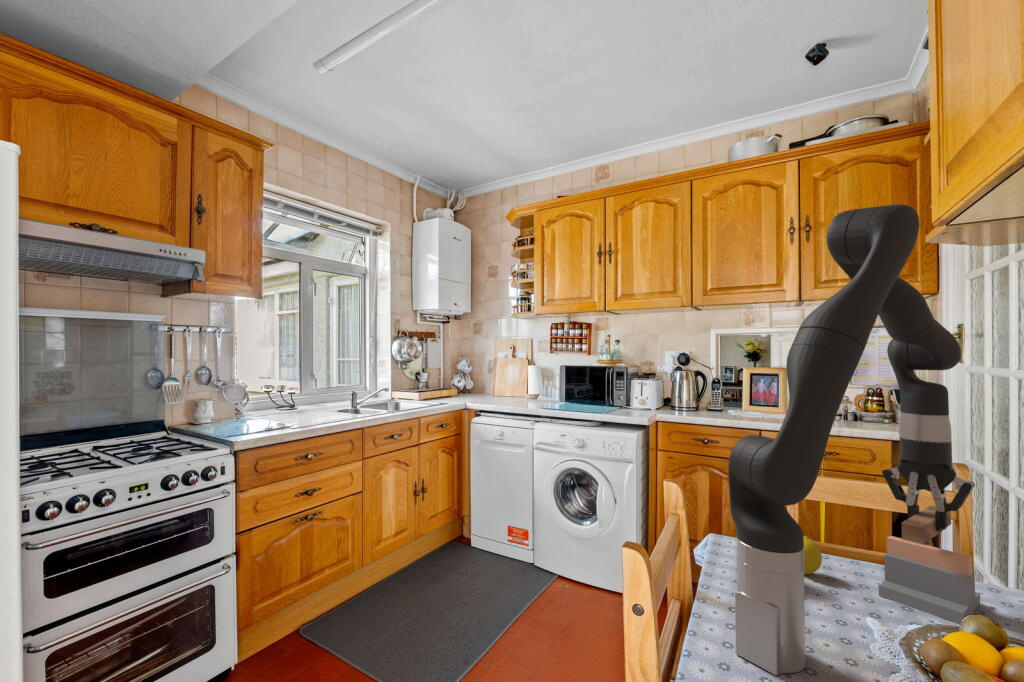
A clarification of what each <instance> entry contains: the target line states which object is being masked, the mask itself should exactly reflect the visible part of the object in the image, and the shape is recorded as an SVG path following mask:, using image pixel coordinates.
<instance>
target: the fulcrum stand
mask: <svg viewBox="0 0 1024 682" xmlns="http://www.w3.org/2000/svg"><path fill="white" fill-rule="evenodd" d="M975 574H976V573H975V570H973V556H972V555H971V556H970V555H967V554H963V553H960V552H955V551H952V550H948V549H943V548H940V547H936V546H932V545H929V544H928V545H927V544H926V543H925V544H924V545H922V544H918V543H915V542H911V541H907V540H903V539H902V537H898V536H897V537H896V536H894V535H893V536H892V535H889V536H888V537H886V553H885V554H884V581H882V582H881V583H879V584H878V596H879V597H881V598H885V599H887V600H890V601H893V602H896V603H899V604H902V605H905V606H908V607H911V608H912V609H913V608H914V609H916V610H920V611H922V612H925V613H927V614H928V613H929V614H930V615H933V616H936V617H940V618H942V619H945V620H949V621H951V622H954V623H957V624H960V625H962V624H961V622H962V620H963V619H964V618H965V617H967V616H969V615H971V616H972V615H973V614H974V613H975V611H976V610H977V609H978V608H979V607H980V606H981V593H979V592H976V584H975V583H976V580H975V579H976V578H975V576H976V575H975ZM973 612H974V613H973Z"/></svg>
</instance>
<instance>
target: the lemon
mask: <svg viewBox="0 0 1024 682" xmlns="http://www.w3.org/2000/svg"><path fill="white" fill-rule="evenodd" d="M803 536H804V575H807V576H808V575H810V574H811V573H815V572H817V571H819V570H820V568H821V566H822V562H823V561H822V559H823V558H822V552H821V549H820V547H819V545H818V544H817V542H816V541H815V540H813V539H812V538H809V537H808V535H803Z"/></svg>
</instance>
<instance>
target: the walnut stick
mask: <svg viewBox="0 0 1024 682" xmlns="http://www.w3.org/2000/svg"><path fill="white" fill-rule="evenodd" d="M936 510H937V509H936V505H933V504H931V505H929V506H927V507H926V508H925V507H924V509H922V510H921V511H920V510H919V513H918V514H916V515H914V516H912V517H910V518H909V519H908V518H907V519H905V520H904V521H902V522H901V539H903V540H907V541H911V542H915V543H918V544H922V545H924V544H925V545H926V543H927V542H929V541H930V540H932V539H933V538H934V537H936V536H937V535H939V534H940V533H941V532H940V531H937V530H936V519H935V511H936ZM951 525H952V511H948V527H950V526H951Z"/></svg>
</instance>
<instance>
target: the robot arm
mask: <svg viewBox="0 0 1024 682" xmlns="http://www.w3.org/2000/svg"><path fill="white" fill-rule="evenodd" d="M919 230H920V217H919V214H918V211H917V210H916V209H915V208H914V207H913V206H911V205H907V204H888V205H879V206H871V207H870V206H869V207H861V208H854V209H849V210H844V211H842V212H840V213H839V212H838V214H836V215H835V216H834V217H833V218H832V219H831V221H830V223H829V225H828V227H827V232H826V244H827V249H828V252H829V254H830V256H831V257H832V258H833V260H834V261H835V262H836V264H837V265H838V267H839V268H840V269H841V270H842V271H843V272H844V274H846V275H847V277H848V278H849V280H850V281H848V283H846V285H844V286H843V287H842V288H841V289H839V290H838V291H837V292H835V293H834V294H833V295H832V296H830V297H829V298H827V299H826V300H825V301H824V302H823V303H821V304H820V305H818V306H817V307H816V308H815V309H814V310H813V311H811V313H809V314H808V315H807V316H806V317H805V319H804V320H803V321H802V322H801V324H800V327H799V328H798V330H797V332H796V335H795V336H794V340H793V341H792V343H791V346H790V348H789V351H788V354H787V358H786V367H785V368H786V377H787V385H788V394H789V395H788V396H789V398H788V405H787V406H788V407H787V410H786V411H787V412H786V414H785V416H784V419H783V421H782V424H781V425H780V426H781V427H780V429H779V431H778V432H777V434H776V436H775V438H773V437H769V436H768V437H767V436H765V435H757V434H750V435H747V436H743V437H741V438H739V439H738V440H737V441H736V443H734V445H733V447H732V450H731V451H730V453H729V458H728V468H727V470H728V471H727V472H728V473H727V474H728V476H727V478H728V494H729V507H730V509H729V510H730V515H731V518H732V520H733V523H734V525H735V533H736V534H735V535H736V591H735V593H734V596H735V597H734V601H735V603H734V609H735V612H734V613H735V617H734V619H735V654H736V655H738V656H739V657H742V658H743V659H744V660H747V661H749V662H751V663H752V664H755V666H757V667H759V668H762V669H763V670H764V671H767V672H769V673H770V674H772V675H775V676H779V674H794V673H798V672H802V670H804V669H805V667H806V621H805V620H806V613H805V612H806V609H805V607H806V606H805V573H804V536H805V535H804V532H803V531H804V530H803V529H802V527H801V526H800V524H799V523H798V522H797V521H796V520H795V519H794V518H793V517H792V515H791V514H790V513H789V511H788V510H787V508H786V506H794V505H796V504H799V503H801V502H802V501H803V500H804V499H806V497H808V495H809V494H810V492H811V491H812V489H813V487H814V485H815V483H816V481H817V478H818V476H819V473H820V469H821V466H822V463H823V458H824V456H825V451H826V450H827V449H826V448H827V444H828V441H829V437H830V434H831V431H832V428H833V424H834V423H835V419H836V418H837V414H838V412H839V409H840V407H841V405H842V402H843V399H844V397H845V394H846V391H847V389H848V387H849V384H850V382H851V380H852V378H853V376H854V374H855V372H856V370H857V367H858V365H859V363H860V361H861V358H862V356H863V354H864V352H865V348H866V346H867V343H868V341H869V337H870V335H871V332H872V330H873V328H874V326H875V323H876V321H877V319H878V317H879V318H880V321H881V322H882V325H883V327H884V328H885V330H886V332H887V334H888V335H889V336H890V338H891V339H890V341H889V342H888V345H887V349H886V351H887V352H886V353H887V357H888V360H889V362H890V366H891V368H892V371H893V373H894V377H895V378H896V381H897V385H898V390H899V403H900V417H899V422H898V424H899V425H898V426H899V428H898V434H899V459H900V460H899V463H898V465H897V466H896V467H893V468H892V467H891V468H885V469H883V470H882V471H881V474H882V476H883V478H884V480H885V482H886V483H887V485H888V487H889V489H890V491H891V494H892V496H893V497H894V499H895V500H897V501H901V502H903V503H905V504H906V507H907V508H906V510H907V511H906V512H907V519H909V518H910V517H912V516H914V515H916V514H918V513H919V512H920V505H919V504H918V502H919V497H920V493H921V491H922V490H923V491H927V492H929V493H931V496H932V499H933V501H934V506H936V509H937V510H936V511H935V519H936V530H937V531H940V533H942V532H943V531H944V530H946V529H947V528H949V526H948V511H951V512H957V511H959V510H960V509H961V508H962V507H963V505H964V503H965V501H967V499H968V497H969V495H970V494H971V492H972V491H973V490H974V488H975V487H976V484H975V482H973V481H971V480H965V479H963V478H961V477H959V476H957V472H955V469H954V467H953V443H952V441H953V440H952V426H951V425H952V424H951V420H950V407H949V405H950V404H949V403H950V401H949V390H948V387H947V386H945V385H943V384H940V383H936V382H931V381H926V380H923V379H921V378H919V377H918V375H917V374H916V372H915V371H947V370H951V369H953V368H954V367H956V366H957V365H958V364H959V362H960V360H961V358H962V348H961V346H960V344H959V342H958V340H957V339H956V337H955V336H954V335H953V334H952V333H951V332H950V331H949V330H948V329H947V328H946V327H944V326H943V325H942V324H941V323H940V322H939V321H937V319H935V318H934V316H933V314H932V311H931V309H930V307H929V304H928V303H927V300H926V299H925V297H924V296H923V294H922V293H921V292H920V291H919V290H918V289H916V287H915V286H913V285H911V284H910V283H909V282H907V281H906V280H905V279H903V278H901V277H900V274H901V272H902V271H903V269H904V267H905V265H906V263H907V261H908V260H909V258H910V256H911V254H912V252H913V251H914V250H913V249H914V248H915V245H916V243H917V240H918V235H919ZM900 475H901V476H902V478H903V479H904V480H905V481H906V482H907V483H908V485H907V489H906V492H905V490H904V489H903V486H902V485H901V483H900V481H899V478H900ZM953 482H954V484H955V489H956V490H957V491H958V492H957V493H956V494H955V496H954V497H953V498H952V500H951V502H948V500H947V493H946V488H947V487H949V485H950V484H951V483H953Z"/></svg>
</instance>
